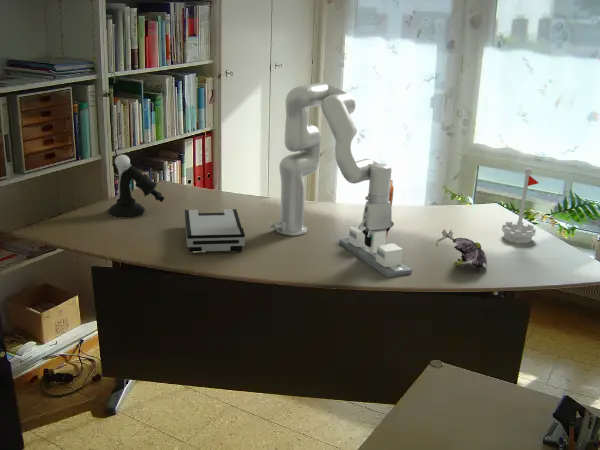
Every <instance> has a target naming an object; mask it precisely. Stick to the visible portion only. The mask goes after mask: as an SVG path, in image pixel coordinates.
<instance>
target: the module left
mask: <svg viewBox="0 0 600 450" xmlns="http://www.w3.org/2000/svg"><path fill="white" fill-rule="evenodd" d="M358 226H359V225H358ZM358 226H350V227H349V230H348V231H349V232H348V238H349V243H351V244H352V245H354V246H355V247H363V246H365V243H364V242H365V235H364V234H363V233H362V231H360V230H359V229H358ZM365 228H366V227H364V229H365Z"/></svg>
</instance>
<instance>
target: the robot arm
mask: <svg viewBox="0 0 600 450" xmlns="http://www.w3.org/2000/svg"><path fill="white" fill-rule="evenodd" d="M315 107H320V108H321V112H322V114H323V117H324V118H325V120H326V123H327V124H328V127H329V129H330V130H331V133H332V136H333V137H334V139H335V147H334V149H335V150H334V151H335V161H336V164H337V167H338V168H339V170H340V173H341V175H342V176H343V178H344V180H345V181H347V182H348V183H349V184H354V185H355V184H358V183H362V182H365V181H368V183H369V184H368V193H367V196H365V199H364V200H365V201H366V202H365V206H364V209H363V215H362V221H361V223H359V225H358V229H359V230H360V231H362V233H363V234H364V235H365V242H364V243H365V245H366V246H368V247H371V237H370V235H371V232H372V230H379V229H383V230H385V231H386V234H387V235H388V233H387V232H389V231H390V230H391V228H393V226H395V223H394V222H393V221H392V218H393V217H392V211H393V210H392V208H391V202H390V201H389V192H390V182H391V180H392V167H391V166H390V165H388V164H385V163H381V162H377V161H375V160H373V159H371V158H364V159H363V158H362V159H360V160H356V161H355V158H354V156H353V153H352V146H351V145H352V141H353V139H354V137H356V134H357V131H358V129H357V127H356V125H355V123H354V121H353V119H352V117H351V114H353V113H354V112H355V109H356V101H355V99H354V97H353V96H352V95H351V94H350V93H348V92H347V91H344V90H342V89H340V88H338V87H335V86H333V85H331V84H328V83H325V82H318V83H311V84H304V85H298V86H296V87H293V88H291V90H290V91H289V92H288V93H287V95H286V97H285V124H284V125H285V127H284V128H285V129H284V146H285V148H286V149H287V150H288V151H289V152H292V154H288V155H286V156H284V157H283V158H282V159H281V161H280V163H279V166H278V167H279V175H280V214H279V215H280V216H279V218H277V220H276V221H275V222H269V223H268V227H269V229H271V228H274V229H275V230H276V231H275V232H277V233H279V234H280V235H284V236H292V237H293V236H301V235H304V234H306V233H307V232H308V227H307V226H306V225H304V222H305V221H304V219H305V202H306V201H305V200H306V199H305V198H306V197H305V196H306V188H305V184H304V181H303V177H306V176H309V175H312V174H314V173H315V172H317V170H318V169H319V166H320V159H321V158H320V156H321V145H322V144H321V141H322V138H321V133H320V131H319V129H318V127H316V126H315V125H314V124H311V123H310V124H308V121H309V117H308V116H309V115H308V112H307V110H306V109H308V108H315ZM293 152H294V153H293ZM295 152H296V153H295ZM364 227H366V228H365V229H364Z"/></svg>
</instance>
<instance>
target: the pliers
mask: <svg viewBox="0 0 600 450" xmlns="http://www.w3.org/2000/svg"><path fill="white" fill-rule="evenodd" d="M441 233H442V237H441V238H439V239H437V240H436V242H435V244H436V246H437V247H438V246H439V242H441V241H442V239H443V240H445V239H446V238H449V239H450V240H451V239H452V241H453V239H455V238H454V237H453V235H452V234H454V232H453V230H452V229H450V230H449V232H447V231H446V229H445V228H443V231H442V232H441ZM444 238H445V239H444ZM458 244H460V243H456V245H458Z"/></svg>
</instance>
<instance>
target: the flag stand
mask: <svg viewBox="0 0 600 450" xmlns="http://www.w3.org/2000/svg"><path fill="white" fill-rule="evenodd" d="M523 171H524V172H523V173H524V174H525V177H524V183H523V189H522V196H521V203H520V209H519V214H518V219H517V221H516V223H513V221H512V220H509V221H506V222H505V223H504V222H503V223H502V226H501V231H502V232H503V239H504V240H506V241H508V242H510V243H514V242H515V243H514V244H521V243H525V244H529V243H528V242H530V241H531V242H532V239H533V237H534V236H535V235H536V231H537V227H534V225H533V224H531V223H527V225H525V224H524V222H523V218H524V212H525V207H526V206H525V205H526V199H527V194H528V187H529V186H534V185H537V184H539V181H537V180H536V179H535V178H533V177H532V176H531V175H532V173H533V169H532V168H531V167H526V168H524V170H523ZM531 242H530V243H531Z"/></svg>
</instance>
